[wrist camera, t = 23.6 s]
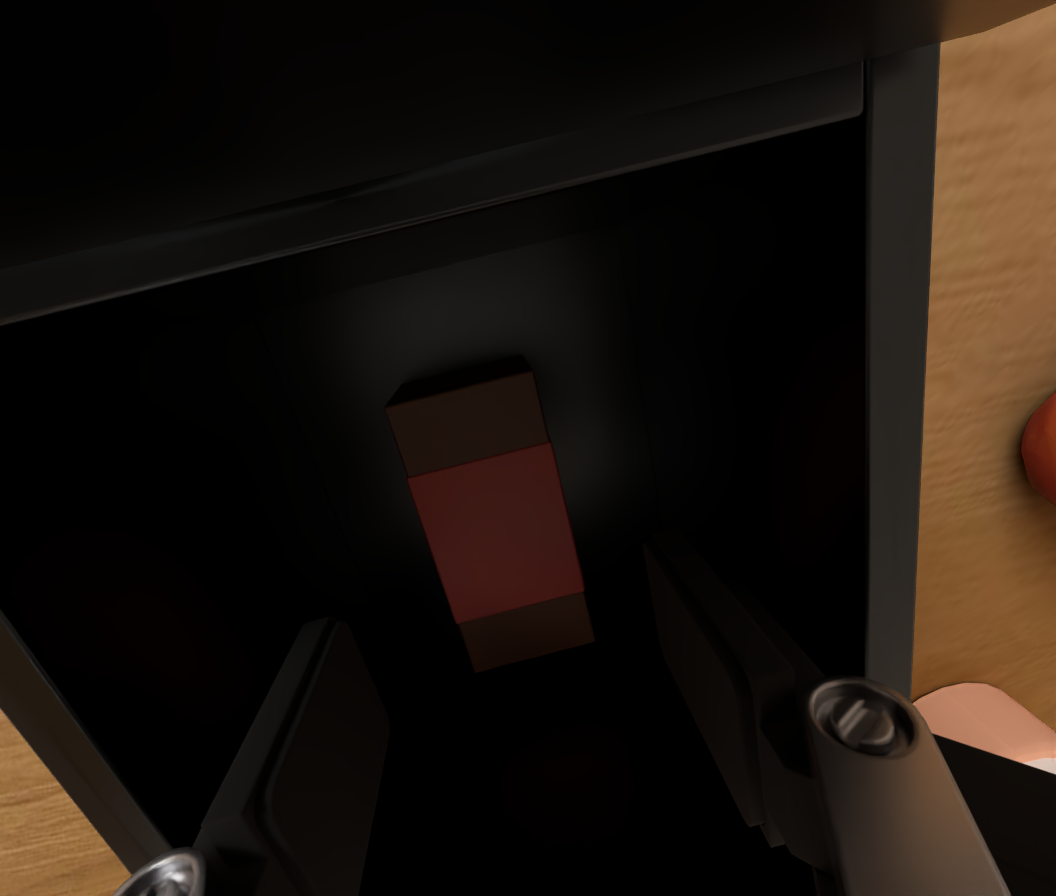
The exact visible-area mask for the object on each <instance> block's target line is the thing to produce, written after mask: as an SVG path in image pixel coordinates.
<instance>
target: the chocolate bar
mask: <svg viewBox="0 0 1056 896" xmlns="http://www.w3.org/2000/svg"><path fill="white" fill-rule="evenodd" d="M384 410H385V413H386V416H387V419H388V422H389V425H390V428H391V431H392V434H393V436H394V439H395V442H396V445H397V448H398V451H399V454H400V457H401V460H402V463H403V466H404V468H405V471H406V474H407V477H406V481H407V484H408V487H409V490H410V493H411V496H412V499H413V502H414V504H415V507H416V510H417V513H418V516H419V519H420V522H421V525H422V528H423V531H424V533H425V536H426V539H427V542H428V545H429V548H430V551H431V554H432V557H433V559H434V562H435V565H436V568H437V571H438V574H439V577H440V580H441V583H442V586H443V588H444V591H445V594H446V597H447V600H448V603H449V606H450V609H451V612H452V615H453V617H454V620H455V622H456V624H458V626H459V629H460V632H461V634H462V637H463V640H464V643H465V646H466V649H467V652H468V655H469V658H470V661H471V664H472V667H473V669H474V672H475V673H478V672H481V671H485V670H489V669H493V668H497V667H500V666H504V665H508V664H512V663H516V662H520V661H523V660H527V659H531V658H535V657H539V656H543V655H546V654H550V653H554V652H558V651H562V650H565V649H569V648H573V647H577V646H581V645H585V644H588V643H592V642H594V641H595V635H594V631H593V627H592V622H591V618H590V614H589V609H588V605H587V601H586V596H585V592H584V591H585V584H584V580H583V575H582V571H581V566H580V562H579V558H578V553H577V549H576V544H575V540H574V536H573V531H572V527H571V523H570V518H569V514H568V509H567V505H566V501H565V496H564V492H563V487H562V483H561V479H560V474H559V470H558V465H557V461H556V457H555V452H554V448H553V444H552V441H551V439H550V437H549V435H548V430H547V426H546V422H545V417H544V413H543V409H542V404H541V400H540V396H539V391H538V387H537V382H536V378H535V374H534V371H533V369H532V368H531V366H530V365H529V363H528V362H527V360H526V358H525V357H524V355H522V354H520V355H516V356H512V357H508V358H504V359H500V360H496V361H492V362H488V363H484V364H480V365H476V366H472V367H468V368H464V369H460V370H456V371H452V372H448V373H444V374H440V375H436V376H432V377H428V378H424V379H420V380H416V381H412V382H408V383H404V384H402V385H400V387H399V388H398V389H397V391H396V392H395V393H394V395H393V396H392V397H391V399H390V400H389V401H388V403H387V404H386V405H385V407H384Z"/></svg>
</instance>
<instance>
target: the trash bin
mask: <svg viewBox="0 0 1056 896" xmlns="http://www.w3.org/2000/svg"><path fill="white" fill-rule="evenodd" d="M939 64H940V43H936V44H931V45H927V46H923V47H919V48H915V49H911V50H907V51H903V52H898V53H894V54H890V55H886V56H882V57H878V58H874V59H869V60H865V61H861V62H857V63H853V64H849V65H845V66H841V67H836V68H832V69H828V70H824V71H820V72H816V73H812V74H807V75H803V76H799V77H795V78H791V79H787V80H783V81H779V82H774V83H770V84H766V85H762V86H758V87H754V88H750V89H746V90H741V91H737V92H733V93H729V94H725V95H721V96H717V97H712V98H708V99H704V100H700V101H696V102H692V103H688V104H684V105H679V106H675V107H671V108H667V109H663V110H659V111H655V112H650V113H646V114H642V115H638V116H634V117H630V118H626V119H622V120H617V121H613V122H609V123H605V124H601V125H597V126H593V127H589V128H584V129H580V130H576V131H572V132H568V133H564V134H560V135H555V136H551V137H547V138H543V139H539V140H535V141H531V142H527V143H522V144H518V145H514V146H510V147H506V148H502V149H498V150H493V151H489V152H485V153H481V154H477V155H473V156H469V157H465V158H460V159H456V160H452V161H448V162H444V163H440V164H436V165H432V166H427V167H423V168H419V169H415V170H411V171H407V172H403V173H398V174H394V175H390V176H386V177H382V178H378V179H374V180H370V181H365V182H361V183H357V184H353V185H349V186H345V187H341V188H336V189H332V190H328V191H324V192H320V193H316V194H312V195H308V196H303V197H299V198H295V199H291V200H287V201H283V202H279V203H275V204H270V205H266V206H262V207H258V208H254V209H250V210H246V211H241V212H237V213H233V214H229V215H225V216H221V217H217V218H213V219H208V220H204V221H200V222H196V223H192V224H188V225H184V226H179V227H175V228H171V229H167V230H163V231H159V232H155V233H151V234H146V235H142V236H138V237H134V238H130V239H126V240H122V241H118V242H113V243H109V244H105V245H101V246H97V247H93V248H89V249H84V250H80V251H76V252H72V253H68V254H64V255H60V256H56V257H51V258H47V259H43V260H39V261H35V262H31V263H27V264H22V265H18V266H14V267H10V268H6V269H2V270H0V709H1V710H2V712H3V713H4V714H5V715H6V717H7V718H8V719H9V720H10V722H11V723H12V724H13V726H14V727H15V728H16V729H17V731H18V732H19V733H20V734H21V736H22V737H23V738H24V739H25V741H26V742H27V743H28V744H29V746H30V747H31V748H32V750H33V751H34V752H35V753H36V755H37V756H38V757H39V758H40V760H41V761H42V762H43V763H44V765H45V766H46V767H47V769H48V770H49V771H50V772H51V774H52V775H53V776H54V777H55V779H56V780H57V781H58V782H59V784H60V785H61V786H62V788H63V789H64V790H65V791H66V793H67V794H68V795H69V796H70V798H71V799H72V800H73V801H74V803H75V804H76V805H77V807H78V808H79V809H80V810H81V812H82V813H83V814H84V815H85V817H86V818H87V819H88V820H89V822H90V823H91V824H92V826H93V827H94V828H95V829H96V831H97V832H98V833H99V834H100V836H101V837H102V838H103V839H104V841H105V842H106V843H107V845H108V846H109V847H110V848H111V850H112V851H113V852H114V853H115V855H116V856H117V857H118V858H119V860H120V861H121V862H122V864H123V865H124V866H125V867H126V869H127V870H128V871H129V872H130V874H131V875H133V874H134V873H135V872H136V871H137V870H139V869H140V868H141V867H143V866H144V865H146V864H147V863H149V862H150V861H152V860H153V859H154V858H156V857H158V856H160V855H162V854H164V853H166V852H169V851H171V850H173V849H178V848H183V847H191V848H192V846H193V844H194V842H195V840H196V838H197V836H198V834H199V832H200V830H201V824H202V822H203V820H204V818H205V816H206V814H207V812H208V810H209V808H210V806H211V804H212V802H213V800H214V798H215V796H216V794H217V792H218V790H219V788H220V786H221V784H222V782H223V780H224V778H225V777H226V775H227V773H228V771H229V769H230V767H231V765H232V763H233V761H234V759H235V757H236V755H237V753H238V751H239V749H240V747H241V745H242V743H243V741H244V739H245V737H246V735H247V733H248V731H249V729H250V728H251V726H252V724H253V722H254V720H255V718H256V716H257V714H258V712H259V710H260V708H261V706H262V704H263V702H264V700H265V698H266V696H267V694H268V692H269V690H270V688H271V686H272V684H273V682H274V680H275V679H276V677H277V675H278V673H279V671H280V669H281V667H282V665H283V663H284V661H285V659H286V657H287V655H288V653H289V651H290V649H291V647H292V645H293V643H294V641H295V639H296V637H297V635H298V633H299V631H300V629H301V628H302V626H303V625H304V624H305V623H307V622H311V621H314V620H318V619H322V618H326V617H330V616H335V617H336V618H337V619H338V620H339V621H346V622H347V623H348V625H349V627H350V629H351V632H352V634H353V636H354V639H355V641H356V643H357V645H358V648H359V650H360V652H361V655H362V657H363V659H364V661H365V664H366V666H367V668H368V671H369V673H370V675H371V677H372V680H373V682H374V684H375V687H376V689H377V691H378V694H379V696H380V698H381V700H382V703H383V705H384V707H385V710H386V712H387V714H388V717H389V722H390V735H389V741H388V746H387V751H386V756H385V761H384V766H383V771H382V777H381V782H380V787H379V792H378V797H377V802H376V808H375V813H374V818H373V823H372V828H371V833H370V838H369V844H368V849H367V854H366V859H365V864H364V869H363V875H362V880H361V885H360V890H359V895H358V896H817V893H816V888H815V883H814V878H813V873H812V867H811V865H810V864H809V863H807V862H805V861H803V860H801V859H799V858H797V857H796V856H794V855H792V854H791V853H790V851H789V849H788V847H787V845H786V844H784V845H780V846H776V847H773V848H771V847H770V845H769V843H768V841H767V839H766V837H765V835H764V834H763V832H762V830H761V828H760V826H759V825H755V826H751V827H749V826H748V825H747V823H746V822H745V820H744V818H743V817H742V815H741V813H740V811H739V809H738V807H737V805H736V803H735V801H734V799H733V797H732V795H731V792H730V790H729V788H728V786H727V784H726V782H725V780H724V778H723V776H722V774H721V772H720V770H719V768H718V766H717V764H716V762H715V760H714V758H713V756H712V754H711V752H710V750H709V748H708V746H707V744H706V742H705V740H704V738H703V736H702V734H701V732H700V730H699V728H698V726H697V724H696V722H695V720H694V718H693V716H692V714H691V712H690V710H689V708H688V706H687V704H686V702H685V700H684V698H683V696H682V694H681V692H680V690H679V688H678V686H677V684H676V682H675V680H674V678H673V676H672V674H671V672H670V670H669V668H668V666H667V664H666V661H665V659H664V657H663V654H662V651H661V647H660V643H659V637H658V632H657V626H656V620H655V614H654V609H653V603H652V597H651V591H650V586H649V580H648V574H647V568H646V563H645V557H644V551H643V543H645V542H649V541H650V535H651V534H652V533H656V532H660V531H664V530H668V529H672V528H675V527H676V528H678V529H679V530H680V531H681V532H682V533H683V534H684V536H685V537H686V538H687V539H688V540H689V542H690V543H691V544H692V545H693V546H694V548H695V549H696V550H697V551H698V553H699V554H700V555H701V556H702V557H703V559H704V560H705V561H706V562H707V564H708V565H709V566H710V567H711V568H712V570H713V571H714V572H715V573H716V575H717V576H718V577H719V578H720V579H721V581H722V582H727V581H731V580H735V579H736V580H739V581H741V582H742V583H743V584H744V585H745V586H746V587H747V588H748V589H749V590H750V591H751V593H752V594H753V595H754V596H755V597H756V598H757V599H758V601H759V602H760V603H761V604H762V605H763V606H764V607H765V608H766V610H767V611H768V612H769V613H770V614H771V615H772V616H773V617H774V619H775V620H776V621H777V622H778V623H779V624H780V625H781V627H782V628H783V629H784V630H785V631H786V632H787V633H788V634H789V636H790V637H791V638H792V639H793V640H794V641H795V642H796V643H797V645H798V646H799V647H800V648H801V649H802V650H803V651H804V652H805V654H806V655H807V656H808V657H809V658H810V659H811V660H812V662H813V663H814V664H815V665H816V666H817V667H818V668H819V669H820V671H821V672H822V673H823V674H824V675H825V676H826V677H827V676H832V675H852V676H859V677H865V678H868V679H871V680H874V681H877V682H879V683H882V684H884V685H886V686H888V687H890V688H892V689H893V690H895V691H897V692H899V693H900V694H902V695H903V696H904V697H905V698H906V699H907V700H909V701H910V702H911V685H912V663H913V641H914V619H915V597H916V574H917V552H918V530H919V508H920V485H921V463H922V441H923V419H924V397H925V374H926V352H927V330H928V308H929V286H930V263H931V241H932V219H933V197H934V175H935V152H936V130H937V108H938V86H939ZM520 354H522V355H524V357H525V358H526V360H527V362H528V363H529V365H530V366H531V368H532V369H533V371H534V374H535V378H536V382H537V387H538V391H539V396H540V400H541V404H542V409H543V413H544V417H545V422H546V426H547V430H548V435H549V437H550V439H551V441H552V444H553V448H554V452H555V457H556V461H557V465H558V470H559V474H560V479H561V483H562V487H563V492H564V496H565V501H566V505H567V509H568V514H569V518H570V523H571V527H572V531H573V536H574V540H575V544H576V549H577V553H578V558H579V562H580V566H581V571H582V575H583V580H584V584H585V591H584V592H585V596H586V601H587V605H588V609H589V614H590V618H591V622H592V627H593V631H594V635H595V641H594V642H592V643H588V644H585V645H581V646H577V647H573V648H569V649H565V650H562V651H558V652H554V653H550V654H546V655H543V656H539V657H535V658H531V659H527V660H523V661H520V662H516V663H512V664H508V665H504V666H500V667H497V668H493V669H489V670H485V671H481V672H478V673H475V672H474V669H473V667H472V664H471V661H470V658H469V655H468V652H467V649H466V646H465V643H464V640H463V637H462V634H461V632H460V629H459V626H458V624H456V622H455V620H454V617H453V615H452V612H451V609H450V606H449V603H448V600H447V597H446V594H445V591H444V588H443V586H442V583H441V580H440V577H439V574H438V571H437V568H436V565H435V562H434V559H433V557H432V554H431V551H430V548H429V545H428V542H427V539H426V536H425V533H424V531H423V528H422V525H421V522H420V519H419V516H418V513H417V510H416V507H415V504H414V502H413V499H412V496H411V493H410V490H409V487H408V484H407V481H406V477H407V474H406V471H405V468H404V466H403V463H402V460H401V457H400V454H399V451H398V448H397V445H396V442H395V439H394V436H393V434H392V431H391V428H390V425H389V422H388V419H387V416H386V413H385V410H384V407H385V405H386V404H387V403H388V401H389V400H390V399H391V397H392V396H393V395H394V393H395V392H396V391H397V389H398V388H399V387H400V385H402V384H404V383H408V382H412V381H416V380H420V379H424V378H428V377H432V376H436V375H440V374H444V373H448V372H452V371H456V370H460V369H464V368H468V367H472V366H476V365H480V364H484V363H488V362H492V361H496V360H500V359H504V358H508V357H512V356H516V355H520Z"/></svg>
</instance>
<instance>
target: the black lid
mask: <svg viewBox="0 0 1056 896" xmlns="http://www.w3.org/2000/svg"><path fill="white" fill-rule="evenodd" d="M1055 3H1056V0H0V270H2V269H6V268H10V267H14V266H18V265H22V264H27V263H31V262H35V261H39V260H43V259H47V258H51V257H56V256H60V255H64V254H68V253H72V252H76V251H80V250H84V249H89V248H93V247H97V246H101V245H105V244H109V243H113V242H118V241H122V240H126V239H130V238H134V237H138V236H142V235H146V234H151V233H155V232H159V231H163V230H167V229H171V228H175V227H179V226H184V225H188V224H192V223H196V222H200V221H204V220H208V219H213V218H217V217H221V216H225V215H229V214H233V213H237V212H241V211H246V210H250V209H254V208H258V207H262V206H266V205H270V204H275V203H279V202H283V201H287V200H291V199H295V198H299V197H303V196H308V195H312V194H316V193H320V192H324V191H328V190H332V189H336V188H341V187H345V186H349V185H353V184H357V183H361V182H365V181H370V180H374V179H378V178H382V177H386V176H390V175H394V174H398V173H403V172H407V171H411V170H415V169H419V168H423V167H427V166H432V165H436V164H440V163H444V162H448V161H452V160H456V159H460V158H465V157H469V156H473V155H477V154H481V153H485V152H489V151H493V150H498V149H502V148H506V147H510V146H514V145H518V144H522V143H527V142H531V141H535V140H539V139H543V138H547V137H551V136H555V135H560V134H564V133H568V132H572V131H576V130H580V129H584V128H589V127H593V126H597V125H601V124H605V123H609V122H613V121H617V120H622V119H626V118H630V117H634V116H638V115H642V114H646V113H650V112H655V111H659V110H663V109H667V108H671V107H675V106H679V105H684V104H688V103H692V102H696V101H700V100H704V99H708V98H712V97H717V96H721V95H725V94H729V93H733V92H737V91H741V90H746V89H750V88H754V87H758V86H762V85H766V84H770V83H774V82H779V81H783V80H787V79H791V78H795V77H799V76H803V75H807V74H812V73H816V72H820V71H824V70H828V69H832V68H836V67H841V66H845V65H849V64H853V63H857V62H861V61H865V60H869V59H874V58H878V57H882V56H886V55H890V54H894V53H898V52H903V51H907V50H911V49H915V48H919V47H923V46H927V45H931V44H936V43H940V42H944V41H948V40H952V39H956V38H960V37H964V36H969V35H973V34H977V33H981V32H984V31H987V30H989V29H992V28H994V27H997V26H1000V25H1002V24H1005V23H1007V22H1010V21H1012V20H1015V19H1017V18H1020V17H1022V16H1025V15H1027V14H1030V13H1032V12H1035V11H1037V10H1040V9H1042V8H1045V7H1047V6H1050V5H1053V4H1055Z"/></svg>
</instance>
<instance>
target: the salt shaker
mask: <svg viewBox="0 0 1056 896" xmlns="http://www.w3.org/2000/svg"><path fill="white" fill-rule="evenodd" d="M913 705H914V706H916V708H917V709H918V711H919V712H920V714H921V715H922V716H923V718H924V719H925V721H926V722H927V724H928V726H929V728H930V731H931V733H933V734H936V735H939V736H942V737H945V738H948V739H951V740H954V741H957V742H960V743H963V744H966V745H969V746H972V747H975V748H978V749H981V750H984V751H987V752H990V753H993V754H996V755H999V756H1002V757H1005V758H1008V759H1011V760H1014V761H1017V762H1020V763H1023V764H1026V765H1029V766H1032V767H1035V768H1038V769H1041V770H1044V771H1047V772H1050V773H1053V774H1056V732H1055V731H1053V730H1052V729H1051V728H1049V727H1048V726H1047V725H1046V724H1044V723H1043V722H1042V721H1040V720H1039V719H1038V718H1037V717H1035V716H1034V715H1033V714H1031V713H1030V712H1029V711H1028V710H1026V709H1025V708H1024V707H1022V706H1021V705H1020V704H1019V703H1017V702H1016V701H1015V700H1013V699H1012V698H1011V697H1010V696H1008V695H1007V694H1006V693H1004V692H1003V691H1002V690H1000V689H997V688H995V687H992V686H990V685H988V684H982V683H962V684H957V685H952V686H948V687H943V688H941V689H938V690H936V691H934V692H932V693H930V694H928V695H926V696H923V697H921V698H919V699H918V700H917V701H915V702H914V703H913Z"/></svg>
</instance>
